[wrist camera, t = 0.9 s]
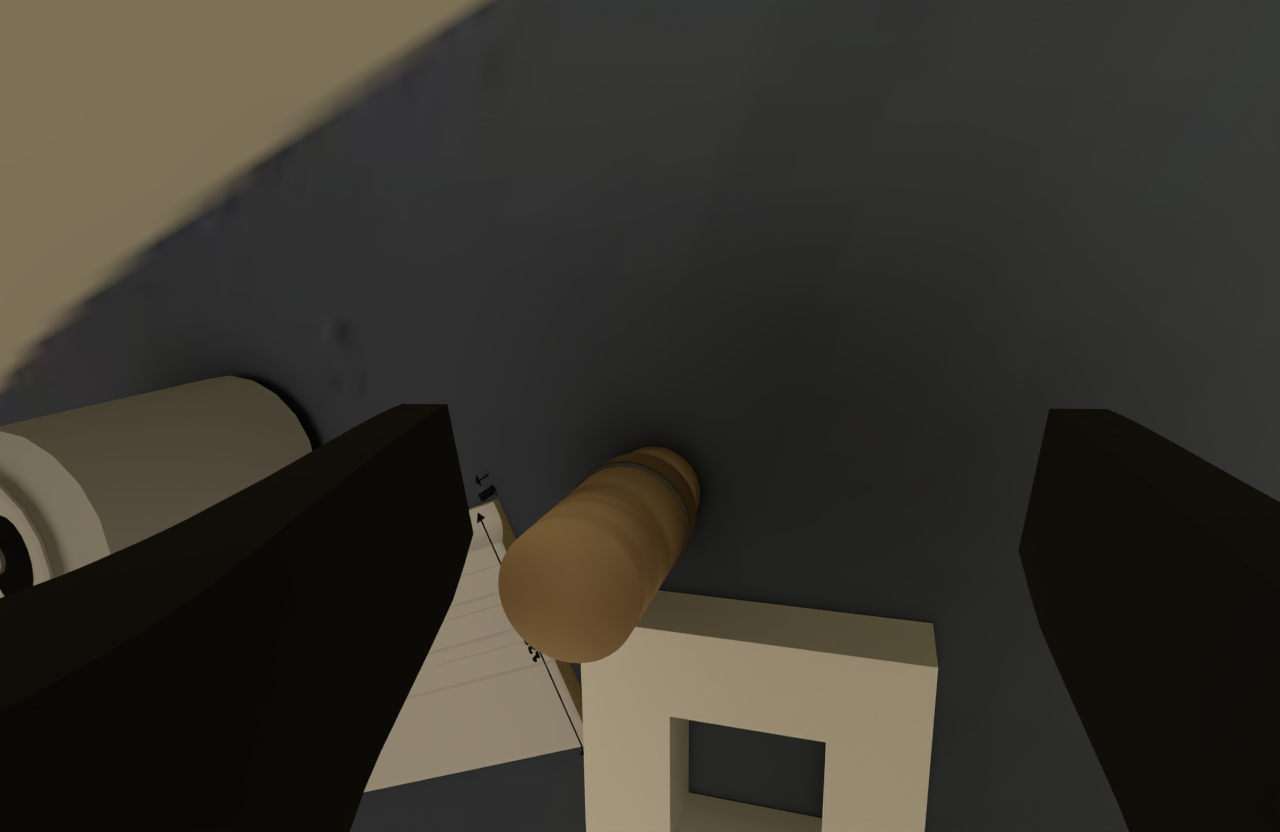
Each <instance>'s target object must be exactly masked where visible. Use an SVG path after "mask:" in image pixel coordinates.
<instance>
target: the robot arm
mask: <svg viewBox="0 0 1280 832" xmlns="http://www.w3.org/2000/svg"><path fill="white" fill-rule="evenodd" d="M473 534H474V533H473V528H472V523H471V518H470V513H469V508H468V504H467V499H466V494H465V489H464V484H463V479H462V474H461V469H460V465H459V460H458V455H457V450H456V445H455V440H454V435H453V430H452V425H451V421H450V416H449V411H448V406H447V404H401V405H398V406H396V407H394V408H391V409H389V410H387V411H384V412H382V413H380V414H378V415H376V416H374V417H372V418H371V419H369V420H367V421H365V422H363V423H361V424H359V425H358V426H356V427H354V428H352V429H350V430H349V431H347V432H345V433H343V434H341V435H340V436H338V437H336V438H334V439H333V440H331V441H329V442H327V443H326V444H324V445H322V446H320V447H319V448H317V449H315V450H313V451H312V452H310V453H308V454H306V455H305V456H303V457H301V458H299V459H298V460H296V461H294V462H292V463H291V464H289V465H287V466H285V467H283V468H282V469H280V470H278V471H276V472H275V473H273V474H271V475H269V476H268V477H266V478H264V479H262V480H260V481H258V482H256V483H255V484H253V485H251V486H249V487H247V488H245V489H243V490H241V491H239V492H237V493H236V494H234V495H232V496H230V497H228V498H226V499H224V500H222V501H220V502H218V503H217V504H215V505H213V506H211V507H209V508H207V509H205V510H203V511H201V512H199V513H198V514H196V515H194V516H192V517H190V518H188V519H186V520H184V521H182V522H180V523H178V524H176V525H174V526H172V527H170V528H168V529H166V530H164V531H162V532H159V533H157V534H155V535H153V536H151V537H149V538H147V539H144V540H142V541H140V542H138V543H136V544H134V545H131V546H129V547H127V548H124V549H122V550H120V551H117V552H115V553H113V554H111V555H108V556H106V557H104V558H101V559H99V560H97V561H94V562H92V563H90V564H88V565H85V566H83V567H80V568H78V569H76V570H73V571H71V572H68V573H66V574H63V575H61V576H58V577H55V578H53V579H50V580H47V581H45V582H42V583H39V584H37V585H34V586H31V587H29V588H26V589H23V590H20V591H18V592H15V593H12V594H10V595H7V596H4V597H2V598H0V832H350V829H351V826H352V823H353V821H354V818H355V815H356V812H357V809H358V807H359V804H360V801H361V798H362V796H363V793H364V790H365V788H366V785H367V783H368V781H369V778H370V776H371V774H372V771H373V769H374V767H375V764H376V762H377V760H378V757H379V755H380V753H381V751H382V749H383V747H384V744H385V742H386V740H387V738H388V736H389V734H390V732H391V730H392V728H393V726H394V724H395V722H396V720H397V717H398V715H399V713H400V711H401V709H402V707H403V705H404V703H405V701H406V699H407V697H408V695H409V692H410V690H411V688H412V686H413V684H414V682H415V680H416V678H417V676H418V674H419V672H420V670H421V668H422V666H423V663H424V661H425V659H426V657H427V655H428V653H429V651H430V649H431V647H432V645H433V642H434V640H435V638H436V636H437V634H438V632H439V630H440V627H441V625H442V623H443V621H444V619H445V617H446V615H447V612H448V610H449V608H450V606H451V604H452V601H453V599H454V596H455V593H456V590H457V587H458V584H459V581H460V578H461V575H462V571H463V568H464V565H465V561H466V558H467V555H468V551H469V548H470V544H471V541H472V537H473ZM1019 553H1020V557H1021V561H1022V565H1023V569H1024V573H1025V576H1026V580H1027V584H1028V588H1029V592H1030V595H1031V598H1032V602H1033V605H1034V609H1035V612H1036V615H1037V619H1038V622H1039V625H1040V628H1041V630H1042V632H1043V635H1044V637H1045V640H1046V642H1047V644H1048V647H1049V649H1050V651H1051V654H1052V656H1053V658H1054V660H1055V663H1056V665H1057V667H1058V670H1059V672H1060V674H1061V676H1062V679H1063V681H1064V683H1065V686H1066V688H1067V690H1068V692H1069V695H1070V697H1071V699H1072V701H1073V704H1074V706H1075V708H1076V710H1077V713H1078V715H1079V717H1080V719H1081V721H1082V724H1083V726H1084V728H1085V730H1086V733H1087V735H1088V737H1089V739H1090V742H1091V744H1092V746H1093V748H1094V751H1095V753H1096V755H1097V757H1098V760H1099V762H1100V764H1101V766H1102V768H1103V771H1104V773H1105V775H1106V777H1107V780H1108V782H1109V784H1110V786H1111V789H1112V791H1113V793H1114V795H1115V798H1116V800H1117V802H1118V804H1119V807H1120V809H1121V812H1122V814H1123V817H1124V819H1125V822H1126V824H1127V827H1128V830H1129V832H1280V502H1279V501H1277V500H1275V499H1273V498H1271V497H1269V496H1268V495H1266V494H1264V493H1262V492H1260V491H1259V490H1257V489H1255V488H1253V487H1251V486H1250V485H1248V484H1246V483H1244V482H1242V481H1241V480H1239V479H1237V478H1235V477H1233V476H1232V475H1230V474H1228V473H1226V472H1225V471H1223V470H1221V469H1219V468H1217V467H1216V466H1214V465H1212V464H1210V463H1209V462H1207V461H1205V460H1203V459H1202V458H1200V457H1198V456H1196V455H1194V454H1193V453H1191V452H1189V451H1187V450H1186V449H1184V448H1182V447H1180V446H1178V445H1177V444H1175V443H1173V442H1171V441H1170V440H1168V439H1166V438H1164V437H1162V436H1160V435H1159V434H1157V433H1155V432H1153V431H1151V430H1149V429H1148V428H1146V427H1144V426H1142V425H1140V424H1138V423H1136V422H1134V421H1132V420H1130V419H1128V418H1126V417H1124V416H1122V415H1119V414H1117V413H1115V412H1112V411H1110V410H1108V409H1049V413H1048V418H1047V423H1046V427H1045V432H1044V436H1043V441H1042V445H1041V450H1040V455H1039V459H1038V464H1037V468H1036V473H1035V477H1034V482H1033V487H1032V491H1031V496H1030V500H1029V505H1028V510H1027V514H1026V519H1025V523H1024V528H1023V532H1022V537H1021V542H1020V546H1019Z"/></svg>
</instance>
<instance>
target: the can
mask: <svg viewBox="0 0 1280 832" xmlns="http://www.w3.org/2000/svg"><path fill="white" fill-rule="evenodd" d="M310 452H312V448H311V444H310V440H309V438H308V437H307V435H306V433H305V431H304V429H303V428H302V426H301V424H300V422H299V420H298V418H297V417H296V415H295V414H294V413H293V412H292V411H291V410H290V408H289V407H288V406H287V405H286V404H285V403H284V402H283V401H282V400H281V399H280V398H279V397H278V396H277V395H276V394H275V393H273V392H271V391H270V390H268V389H266V388H265V387H263V386H261V385H260V384H258V383H256V382H255V381H252V380H248V379H243V378H239V377H234V376H224V377H218V378H212V379H206V380H202V381H198V382H193V383H189V384H184V385H180V386H176V387H171V388H167V389H163V390H158V391H154V392H150V393H145V394H141V395H136V396H132V397H128V398H123V399H119V400H115V401H110V402H106V403H102V404H97V405H93V406H89V407H84V408H80V409H75V410H71V411H67V412H62V413H58V414H54V415H49V416H45V417H41V418H36V419H32V420H27V421H23V422H19V423H14V424H10V425H6V426H1V427H0V598H2V597H4V596H7V595H10V594H12V593H15V592H18V591H20V590H23V589H26V588H29V587H31V586H34V585H37V584H39V583H42V582H45V581H47V580H50V579H53V578H55V577H58V576H61V575H63V574H66V573H68V572H71V571H73V570H76V569H78V568H80V567H83V566H85V565H88V564H90V563H92V562H94V561H97V560H99V559H101V558H104V557H106V556H108V555H111V554H113V553H115V552H117V551H120V550H122V549H124V548H127V547H129V546H131V545H134V544H136V543H138V542H140V541H142V540H144V539H147V538H149V537H151V536H153V535H155V534H157V533H159V532H162V531H164V530H166V529H168V528H170V527H172V526H174V525H176V524H178V523H180V522H182V521H184V520H186V519H188V518H190V517H192V516H194V515H196V514H198V513H199V512H201V511H203V510H205V509H207V508H209V507H211V506H213V505H215V504H217V503H218V502H220V501H222V500H224V499H226V498H228V497H230V496H232V495H234V494H236V493H237V492H239V491H241V490H243V489H245V488H247V487H249V486H251V485H253V484H255V483H256V482H258V481H260V480H262V479H264V478H266V477H268V476H269V475H271V474H273V473H275V472H276V471H278V470H280V469H282V468H283V467H285V466H287V465H289V464H291V463H292V462H294V461H296V460H298V459H299V458H301V457H303V456H305V455H306V454H308V453H310Z"/></svg>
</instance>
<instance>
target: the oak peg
mask: <svg viewBox="0 0 1280 832" xmlns="http://www.w3.org/2000/svg"><path fill="white" fill-rule="evenodd" d="M700 495H701V493H700V485H699V481H698V478H697V476H696V474H695V472H694V470H693V468H692V467H691V466H690V464H689V463H688V462H687V461H686V460H685V459H684V458H683V457H681V456H680V455H679V454H677V453H675V452H673V451H671V450H669V449H666V448H662V447H643V448H640V449H637V450H635V451H633V452H631V453H629V454H624V455H621V456H618V457H615V458H613V459H611V460H610V461H608V462H606V463H605V464H604V465H602V466H600V467H598V468H596V469H594V470H593V471H591V472H590V473H589V474H588V475H586V476H585V477H584V478H583V479H582V480H581V481H580V482H579V483H578V485H577V486H576V488H575V489H574V491H572V492H571V493H570V494H569V495H568V496H567V497H565V498H564V499H563V500H562V501H561V502H560V503H558V504H557V505H556V506H555V507H554V508H553V509H551V510H550V511H549V512H548V513H547V514H546V515H544V516H543V517H542V518H541V519H540V520H539V521H537V522H536V523H535V524H534V525H533V526H532V527H530V528H529V529H528V530H527V531H526V532H525V533H523V534H522V535H521V536H520V537H519V538H518V539H516V540H515V541H514V543H513V544H512V545H511V546H510V547H509V549H508V550H507V552H506V553H505V555H504V558H503V560H502V563H501V566H500V570H499V577H498V588H499V596H500V600H501V604H502V607H503V609H504V612H505V614H506V616H507V618H508V620H509V622H510V623H511V625H512V626H513V628H514V629H515V630H516V632H517V633H518V634H519V635H520V636H521V637H522V638H523V639H524V640H525V641H526V642H527V643H528V644H529V645H530V646H532V647H533V648H534V649H536V650H538V651H539V652H541V653H542V654H544V655H547V656H549V657H551V658H554V659H557V660H559V661H564V662H569V663H589V662H594V661H598V660H601V659H603V658H605V657H607V656H610V655H611V654H613V653H614V652H615V651H617V650H618V649H619V648H620V647H621V646H622V645H623V644H624V643H625V642H626V640H627V639H628V638H629V636H630V634H631V633H632V631H633V630H634V628H635V626H636V625H637V623H638V622H639V620H640V618H641V617H642V615H643V613H644V612H645V610H646V609H647V607H648V605H649V604H650V602H651V601H652V599H653V597H654V596H655V594H656V592H657V591H658V589H659V588H660V586H661V584H662V583H663V581H664V580H665V578H666V576H667V575H668V573H669V572H670V571H671V570H672V569H673V568H674V567H675V566H676V565H677V564H678V562H679V561H680V560H681V558H682V556H683V554H684V553H685V551H686V548H687V545H688V542H689V539H690V537H691V535H692V533H693V531H694V528H695V523H696V515H697V510H698V507H699V503H700Z"/></svg>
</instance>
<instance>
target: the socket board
mask: <svg viewBox="0 0 1280 832" xmlns="http://www.w3.org/2000/svg"><path fill="white" fill-rule="evenodd" d="M937 675H938V662H937V654H936V646H935V637H934V629H933V623H926V622H917V621H909V620H901V619H892V618H884V617H876V616H868V615H859V614H851V613H843V612H834V611H826V610H818V609H810V608H801V607H793V606H785V605H777V604H768V603H760V602H752V601H743V600H735V599H727V598H719V597H710V596H702V595H694V594H685V593H677V592H669V591H661V590H658V591H657V592H656V594H655V596H654V597H653V599H652V601H651V602H650V604H649V605H648V607H647V609H646V610H645V612H644V613H643V615H642V617H641V618H640V620H639V622H638V623H637V625H636V626H635V628H634V630H633V631H632V633H631V634H630V636H629V638H628V639H627V640H626V642H625V643H624V644H623V645H622V646H621V647H620V648H619V649H618V650H617V651H615V652H614V653H613V654H611V655H610V656H607V657H605V658H603V659H601V660H598V661H594V662H589V663H581V678H582V711H583V743H584V776H585V808H586V832H925V820H926V808H927V796H928V784H929V772H930V760H931V748H932V736H933V724H934V712H935V700H936V687H937ZM689 720H694V721H700V722H706V723H712V724H718V725H724V726H730V727H736V728H742V729H748V730H754V731H760V732H766V733H772V734H778V735H784V736H790V737H796V738H802V739H808V740H814V741H820V742H826V753H825V774H824V795H823V815H822V818H819V817H814V816H808V815H803V814H798V813H793V812H788V811H782V810H777V809H772V808H767V807H762V806H756V805H751V804H746V803H741V802H735V801H730V800H725V799H720V798H715V797H709V796H704V795H699V794H694V793H689Z"/></svg>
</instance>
